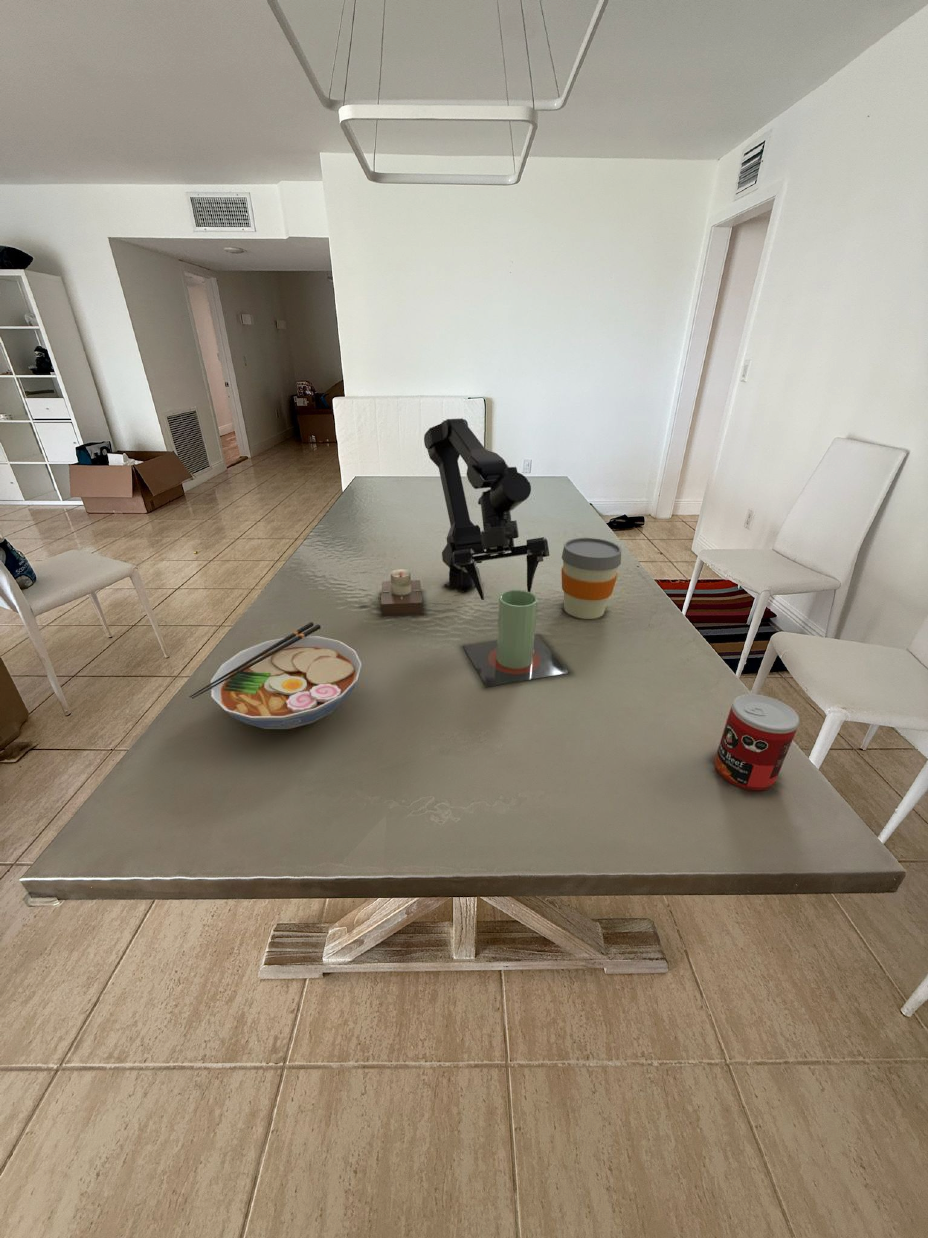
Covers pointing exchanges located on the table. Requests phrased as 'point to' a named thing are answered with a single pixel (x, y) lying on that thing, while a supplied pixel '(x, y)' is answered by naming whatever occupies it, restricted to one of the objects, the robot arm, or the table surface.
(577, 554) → the reusable coffee cup
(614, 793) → the table surface
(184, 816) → the table surface
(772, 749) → the canned food
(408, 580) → the cream jar candle
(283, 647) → the ramen bowl
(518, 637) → the tumbler
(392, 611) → the brown flat block
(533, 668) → the hob
